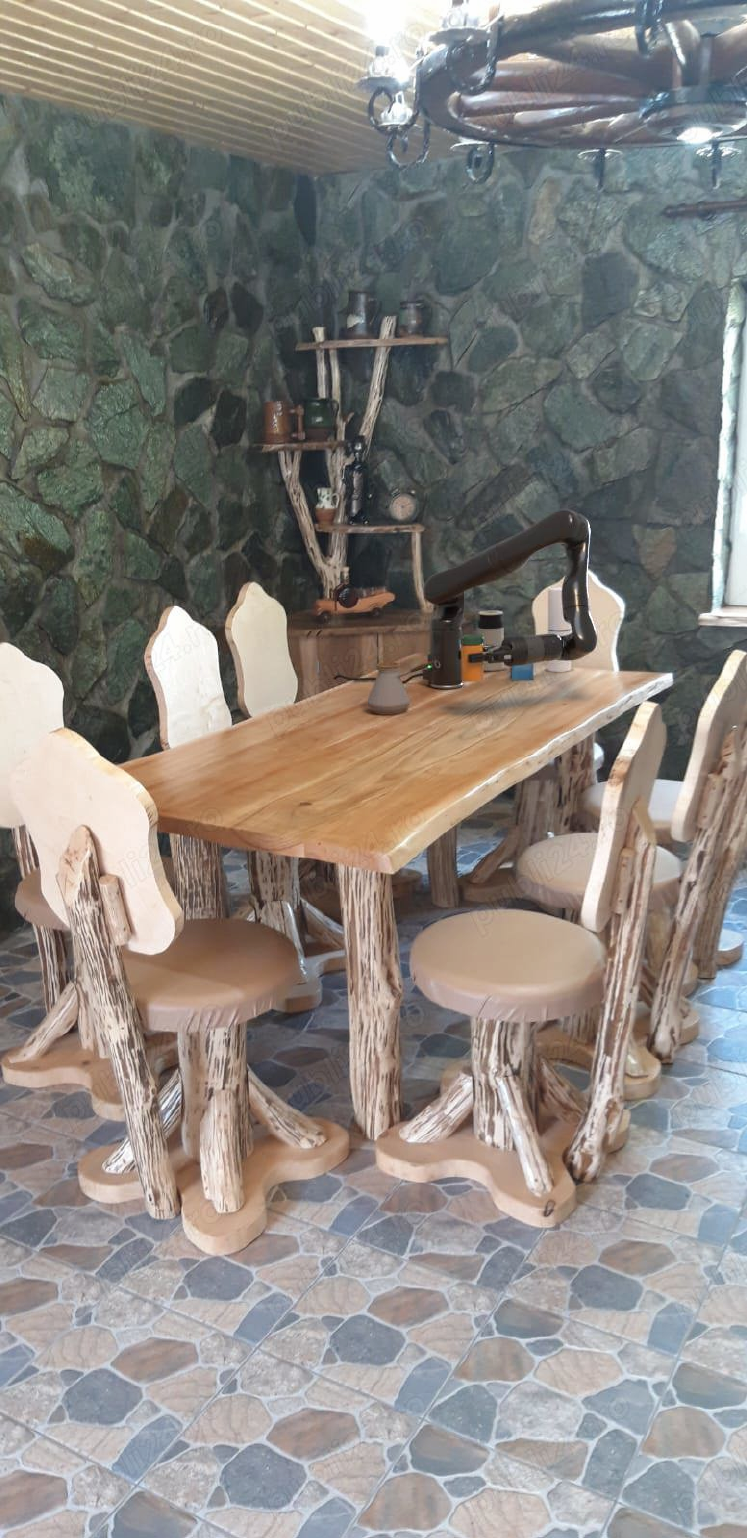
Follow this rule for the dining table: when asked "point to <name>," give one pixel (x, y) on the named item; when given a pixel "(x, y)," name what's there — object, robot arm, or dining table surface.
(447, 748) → the dining table surface
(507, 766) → the dining table surface
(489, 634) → the travel mug
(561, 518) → the robot arm
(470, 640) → the honey lid
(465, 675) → the honey jar
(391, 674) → the coffee pot
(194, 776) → the dining table surface
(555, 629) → the cylindrical container
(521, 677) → the perfume bottle
